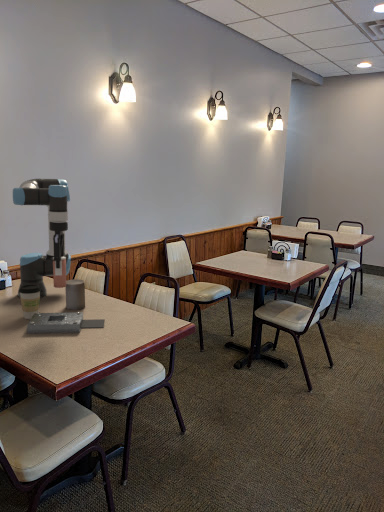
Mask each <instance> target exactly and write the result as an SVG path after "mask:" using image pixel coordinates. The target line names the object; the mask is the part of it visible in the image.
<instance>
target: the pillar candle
mask: <svg viewBox="0 0 384 512" xmlns="http://www.w3.org/2000/svg"><path fill="white" fill-rule="evenodd" d="M85 284H86V283H85V280H84V279H79V278H77V279H75V278H74V279H68V280H66V287H64V289H65V308H66V309H67V310H72V311H74V310H75V311H77V310H82V309H84V308H86V292H85V291H86V286H85Z"/></svg>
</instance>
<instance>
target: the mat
mask: <svg viewBox="0 0 384 512" xmlns="http://www.w3.org/2000/svg"><path fill="white" fill-rule="evenodd" d="M104 328H105V319H104V318H103V319H101V318H100V319H99V318H98V319H83V322H82V326H81V329H104Z"/></svg>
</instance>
